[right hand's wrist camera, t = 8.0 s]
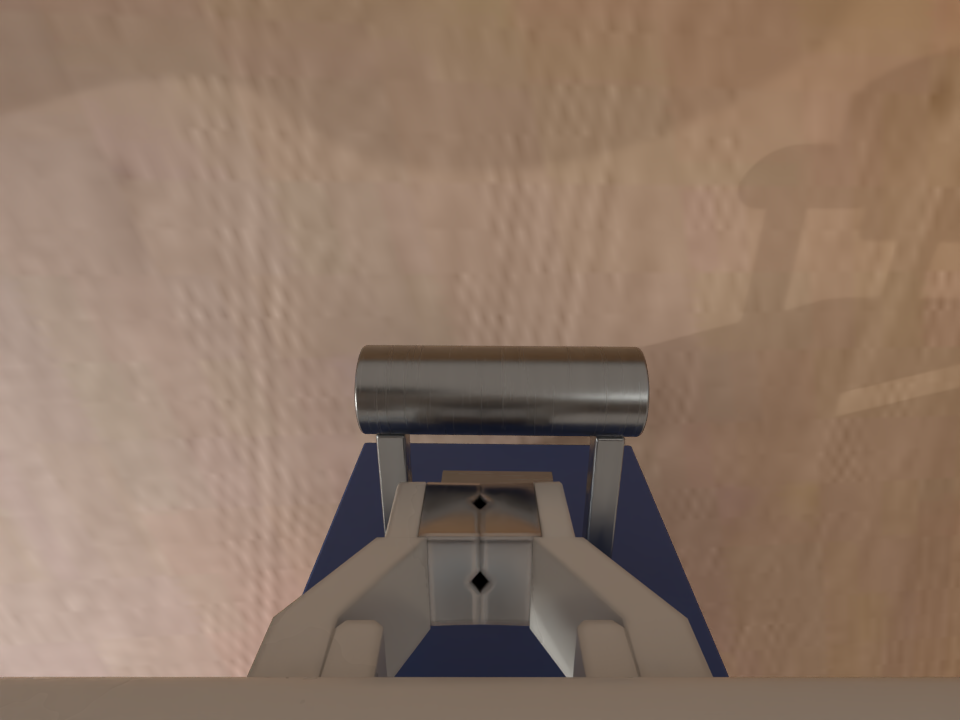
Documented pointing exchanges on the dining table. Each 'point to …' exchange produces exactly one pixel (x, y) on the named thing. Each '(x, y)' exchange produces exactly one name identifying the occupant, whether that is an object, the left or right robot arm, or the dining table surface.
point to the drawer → (510, 472)
